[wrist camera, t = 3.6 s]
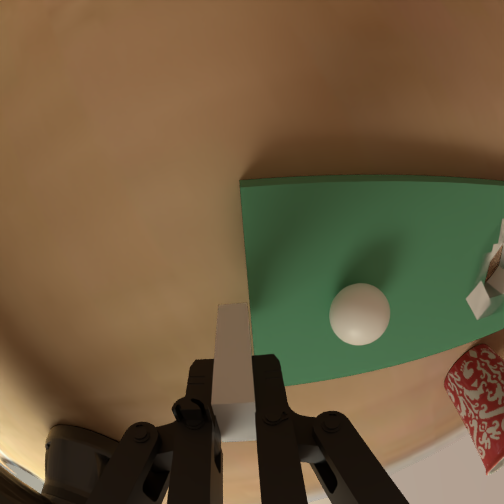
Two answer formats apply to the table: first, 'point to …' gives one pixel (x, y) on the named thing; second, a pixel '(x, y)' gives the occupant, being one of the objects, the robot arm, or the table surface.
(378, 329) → the ball
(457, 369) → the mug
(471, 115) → the table surface
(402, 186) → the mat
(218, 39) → the table surface
